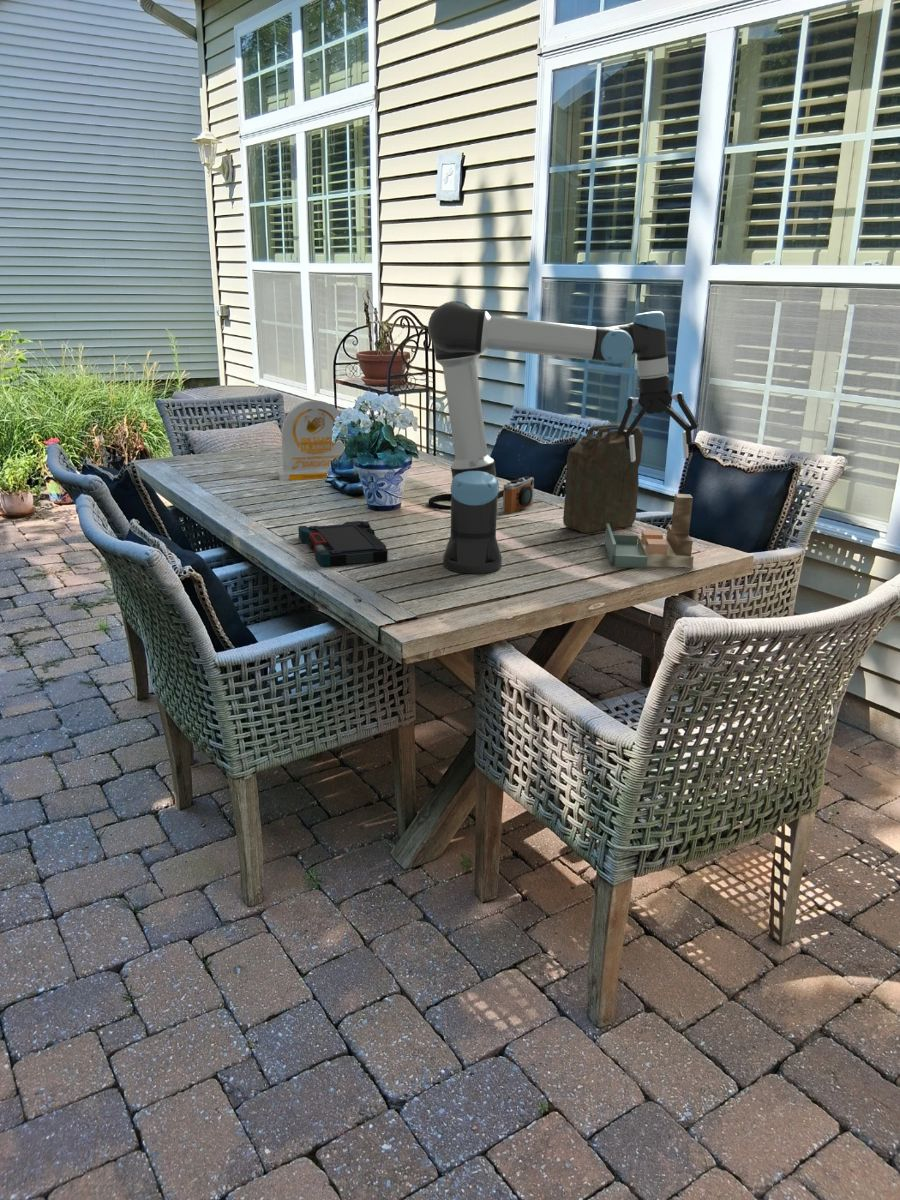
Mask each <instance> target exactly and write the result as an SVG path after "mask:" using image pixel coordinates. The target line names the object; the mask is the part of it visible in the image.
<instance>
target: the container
mask: <svg viewBox="0 0 900 1200" xmlns="http://www.w3.org/2000/svg"><path fill="white" fill-rule="evenodd" d="M620 424H621V422H619V423H610V424H602V425H595V426H593V425H592V426H591V427H590V428H588V431H587V433H586V435H585V436H582V437H581V438H580V440H579V441H578V442H576V443H575V445H574V446H573V447H571V448H570V449H569V450H568V453H567V457H566V474H565V485H564V486H565V487H564V489H565V497H564V504H563V517H562V522H563V525H564V526H565V527H567V528H569V529H571V530H575V531H577V532H579V531H580V532H579V533H582V534H583V533H584V534H590V533H596V532H601V531H606V530H605V529H606V524H610V527H611V530H613V529H619V528H621V529H622V528H627V527H630V526H633V524H634V523H635V521H636V518H637V509H638V508H637V507H638V506H637V505H638V496H639V495H638V494H639V485H640V484H639V468H640V465H641V461H642V454H643V451H642V450H643V443H644V442H643V441H644V432H643V430H642V429H641V427H639V426H636V427H635V429H634V430H633V431H632V433H631V435H634V443H635V455H636V460H635V461H634V462H631V456H630V449H626V443H625V437H624V436H622V435H618V434H617V432H618V429H619V427H620ZM630 425H631V424H627V425H626V427H625V430H626V431H627V430H628V428H629V427H630ZM595 431H597V432H596V434H595V435H594V432H595ZM604 433H606V434H605V435H604V436H603V434H604Z"/></svg>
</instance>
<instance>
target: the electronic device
mask: <svg viewBox="0 0 900 1200" xmlns="http://www.w3.org/2000/svg"><path fill="white" fill-rule="evenodd" d="M297 527H298V530H297V531H298V540H299V541H301V543H304V544H306V546H307V547H308V548H309V550H312V551H313V553H314V560H315V561H316V563H317V564H318V565H319V566H320V567H321V568H327V567H328V568H331V567H339V566H347V565H350V564H351V565H353V564H361V563H363V564H364V563H382V562H387V561H388V558H389V557H388V554H389V551H388V548H387V546H386V544H385V543H384V542H383V541H382V540H381V539H379V537H378V536H377V535H376V534H375V530H374V529H372V527H371V525H370V523H369V522H368V521H363V520H357V521H356V520H355V521H346V522H344V523H341V524H329V525H309V526H307V525H298V526H297Z"/></svg>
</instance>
